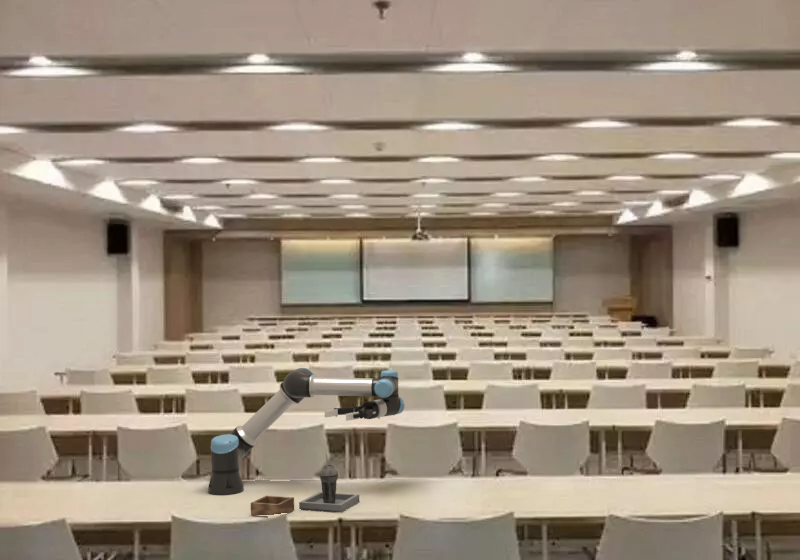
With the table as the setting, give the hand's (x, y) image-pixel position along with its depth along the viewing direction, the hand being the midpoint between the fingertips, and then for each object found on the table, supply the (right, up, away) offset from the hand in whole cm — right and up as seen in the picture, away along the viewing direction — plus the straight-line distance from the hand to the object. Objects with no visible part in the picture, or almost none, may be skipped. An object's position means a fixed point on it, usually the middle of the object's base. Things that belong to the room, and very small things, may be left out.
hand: (335, 415), depth 404 cm
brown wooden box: (-23, -35, -21) cm, 47 cm away
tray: (-2, -34, -12) cm, 36 cm away
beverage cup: (-2, -34, -12) cm, 36 cm away
